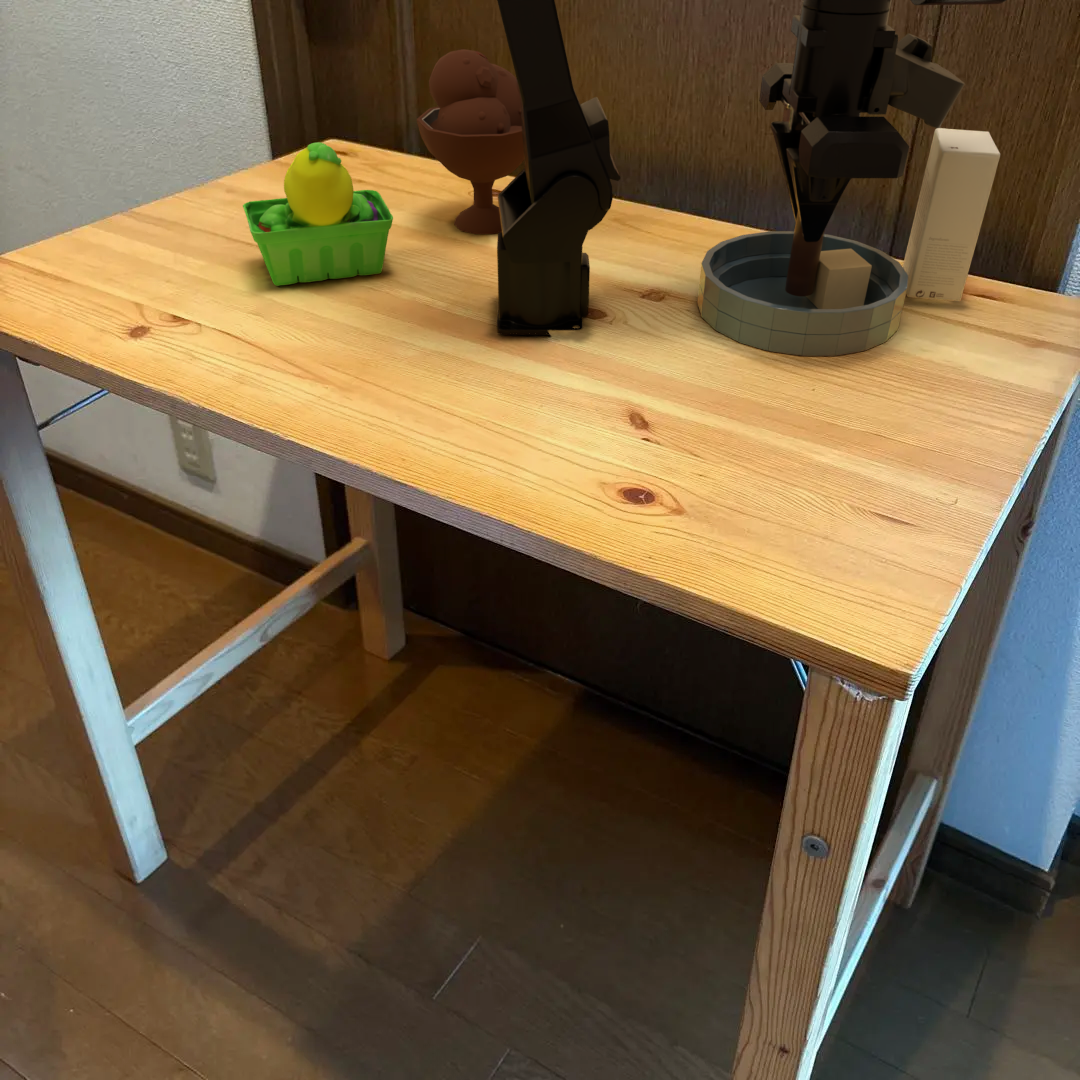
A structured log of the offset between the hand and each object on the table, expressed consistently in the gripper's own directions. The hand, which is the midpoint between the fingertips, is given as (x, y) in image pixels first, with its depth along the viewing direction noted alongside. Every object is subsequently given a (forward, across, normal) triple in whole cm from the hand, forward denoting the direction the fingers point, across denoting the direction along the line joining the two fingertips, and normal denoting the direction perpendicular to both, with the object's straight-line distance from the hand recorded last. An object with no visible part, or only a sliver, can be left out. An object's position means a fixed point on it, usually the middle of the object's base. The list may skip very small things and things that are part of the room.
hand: (807, 234), depth 78 cm
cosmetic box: (+6, +4, -12) cm, 14 cm away
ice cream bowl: (+6, +19, +25) cm, 32 cm away
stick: (+4, 0, 0) cm, 4 cm away
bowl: (+6, -1, 0) cm, 6 cm away
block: (+6, 0, -3) cm, 6 cm away
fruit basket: (+6, +8, +38) cm, 39 cm away
